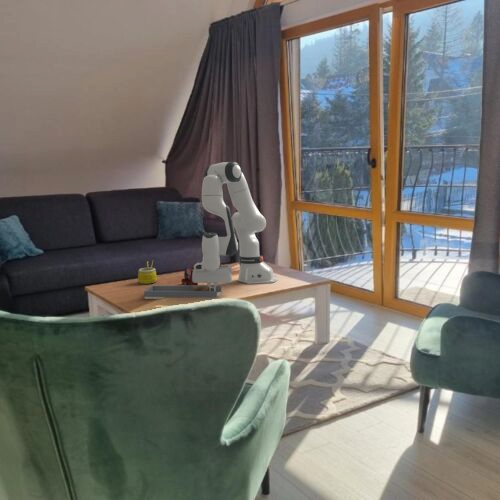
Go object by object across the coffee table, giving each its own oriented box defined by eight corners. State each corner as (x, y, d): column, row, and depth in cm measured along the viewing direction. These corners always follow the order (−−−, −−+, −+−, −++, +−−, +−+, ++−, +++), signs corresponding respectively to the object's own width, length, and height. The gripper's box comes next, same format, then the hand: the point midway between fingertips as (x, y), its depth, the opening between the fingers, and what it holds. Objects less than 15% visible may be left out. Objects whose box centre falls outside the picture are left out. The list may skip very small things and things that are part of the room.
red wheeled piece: (192, 282, 325) (191, 264, 323) (199, 287, 314) (198, 269, 312) (180, 284, 322) (179, 266, 321) (187, 289, 311) (186, 270, 309)
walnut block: (210, 292, 298) (210, 285, 297) (208, 295, 292) (207, 288, 291) (195, 292, 299) (195, 285, 298) (192, 295, 293) (192, 288, 293)
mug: (148, 285, 322) (147, 264, 320) (134, 283, 328) (132, 263, 325) (163, 280, 332) (162, 260, 330) (149, 279, 338) (148, 259, 336)
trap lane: (221, 293, 301) (221, 285, 300) (216, 299, 289) (216, 291, 288) (152, 292, 306) (151, 285, 306) (144, 298, 294) (144, 291, 294)
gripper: (232, 263, 294) (233, 289, 296) (193, 263, 296) (194, 289, 299) (230, 266, 287) (231, 292, 290) (190, 266, 290) (192, 292, 293)
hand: (212, 291), depth 294 cm, fingers closed
